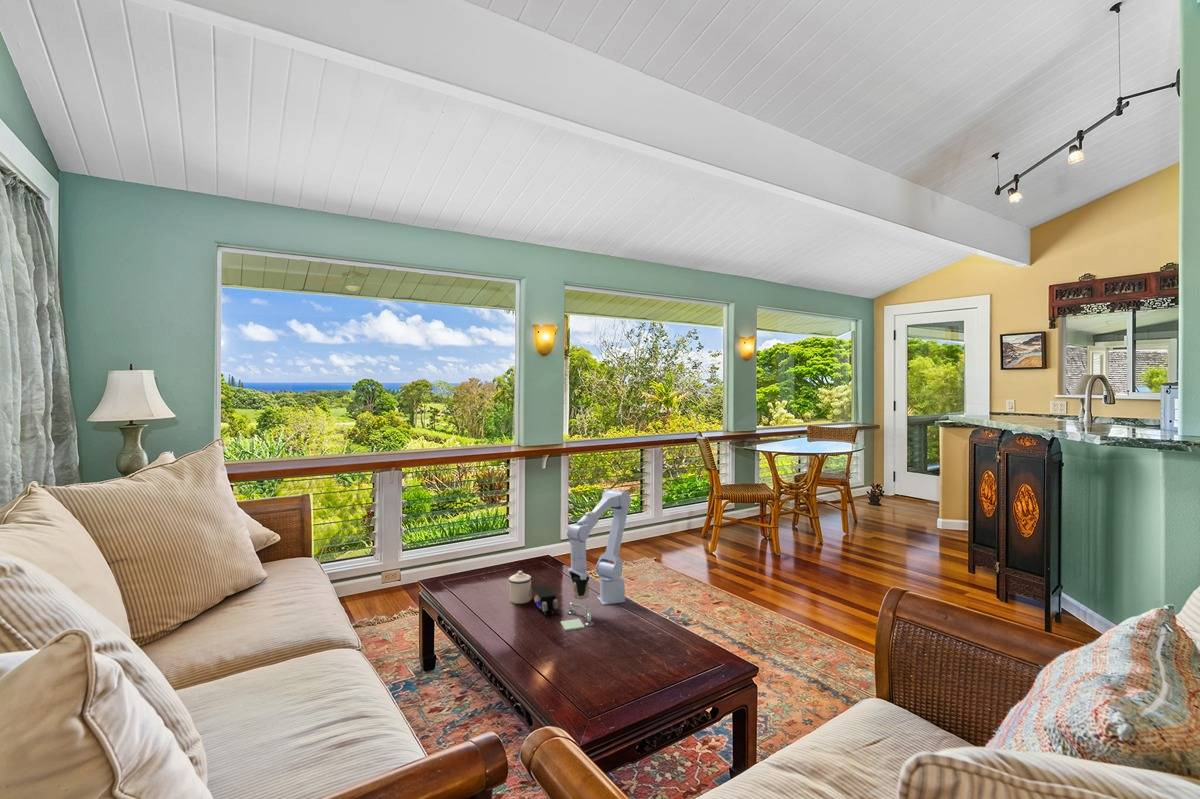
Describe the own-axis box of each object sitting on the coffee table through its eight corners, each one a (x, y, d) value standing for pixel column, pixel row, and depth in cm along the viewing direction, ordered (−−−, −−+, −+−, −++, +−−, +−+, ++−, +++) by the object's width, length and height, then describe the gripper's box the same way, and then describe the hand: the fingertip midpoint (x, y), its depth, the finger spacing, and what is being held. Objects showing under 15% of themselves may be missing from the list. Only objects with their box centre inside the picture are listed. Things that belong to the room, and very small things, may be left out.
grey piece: (587, 609, 212) (586, 599, 212) (598, 624, 198) (598, 614, 198) (566, 611, 210) (566, 601, 210) (576, 628, 195) (576, 617, 195)
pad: (579, 620, 202) (579, 618, 202) (584, 628, 195) (584, 626, 195) (560, 623, 200) (560, 621, 200) (565, 630, 193) (565, 629, 193)
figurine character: (559, 618, 208) (546, 600, 221) (560, 599, 207) (546, 582, 220) (543, 621, 205) (530, 603, 218) (543, 602, 204) (530, 585, 218)
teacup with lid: (534, 601, 220) (534, 572, 220) (512, 605, 217) (512, 576, 216) (525, 592, 231) (525, 564, 231) (504, 595, 227) (504, 567, 227)
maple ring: (585, 592, 211) (585, 579, 211) (590, 597, 205) (589, 584, 205) (571, 594, 209) (571, 581, 209) (575, 599, 204) (575, 586, 204)
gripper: (563, 552, 212) (564, 587, 213) (572, 563, 199) (573, 600, 199) (581, 550, 214) (582, 585, 215) (591, 561, 201) (592, 598, 201)
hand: (579, 592), depth 207 cm, fingers closed on maple ring, 6 cm apart
